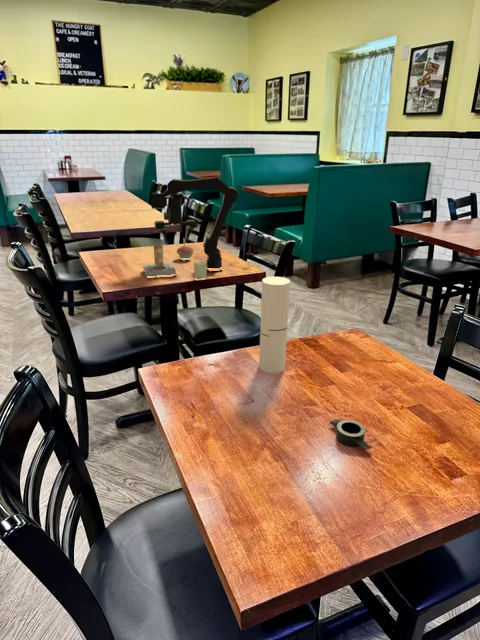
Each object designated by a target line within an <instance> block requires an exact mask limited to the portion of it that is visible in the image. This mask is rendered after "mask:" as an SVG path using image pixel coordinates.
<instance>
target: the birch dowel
mask: <svg viewBox="0 0 480 640" xmlns="http://www.w3.org/2000/svg"><path fill="white" fill-rule="evenodd" d="M153 254H154V255H153V257H154V264H155V269H158V270H159V269H164V264H165V263H164V246H163V245H161V244H155V245H154V246H153Z"/></svg>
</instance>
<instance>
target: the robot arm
mask: <svg viewBox="0 0 480 640" xmlns="http://www.w3.org/2000/svg"><path fill="white" fill-rule="evenodd" d="M213 187H214V188H216V189H217V190H218V191H220V193H221V194H223V197H222V203H221V204H222V205H221V207H220V210H219V213H218V215H217V218H216V221H215V222H214V226H213V228H212V231H211V233H210V235H209V236H207V235H206V237H205V240H204V242H203V243H202V246H203V251H204V254H205V255H206V256H207V257H206V261H205V263H206V267H207V268H220V267H222V268H223V266H222V265H223V264H222V263H223V261H222V259H223V258H222V254H221V250H220V249H219V248H218V245H219V244H218V243H219V238H220V235H221V233H222V230H223V228H224V224H225V222H226V220H227V217H228V215H229V213H230V212H229V211H230V210H231V208H232V207H233V205H234V204H235V202H236V201H237V199H238V195H239V194H238V192H237V189H236V188H235V187H234V186H233V187H232V186H229V185H228V184H226V183H225V182H224V181H222V179H221V178H219V176H213V177H207V178H199V179H198V178H197V179H190V180H189V179H180V178H179V179H178V178H174V179H170V180H169V181H168V183H167V187H166V188H167V189H166V190H164V192H162V193H161V192H159V193H157V192H152V193H151V201H150V204H151V209H153V210H154V209H155V210H156V209H157V210H158V209H161V210H162V209H166V207H168V212H164V213H163V220H155V221H154V222H153V223H154V228H155V230H158V232H160V233H161V234H162V237H163V240H164V242H165V244H166V245H167V244H168V237H167V230H166V228H171V227H172V228H173V227H185V244H187V243H188V241H189V238H190V236H191V233H192V231H194V230H195V228H196V229H197V228H198V223H197V221H196V219H195V220H194V219H186V220H185V221H183V218H182V217H183V214H182V213H183V212H182V211H183V210H182V209H183V207H182V199H183V200H185V199H186V196H185V194H183V192H185V191H188V190H196V189H203V188H213ZM179 193H180V194H179ZM171 195H172V196H171ZM165 221H167V222H165Z"/></svg>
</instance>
